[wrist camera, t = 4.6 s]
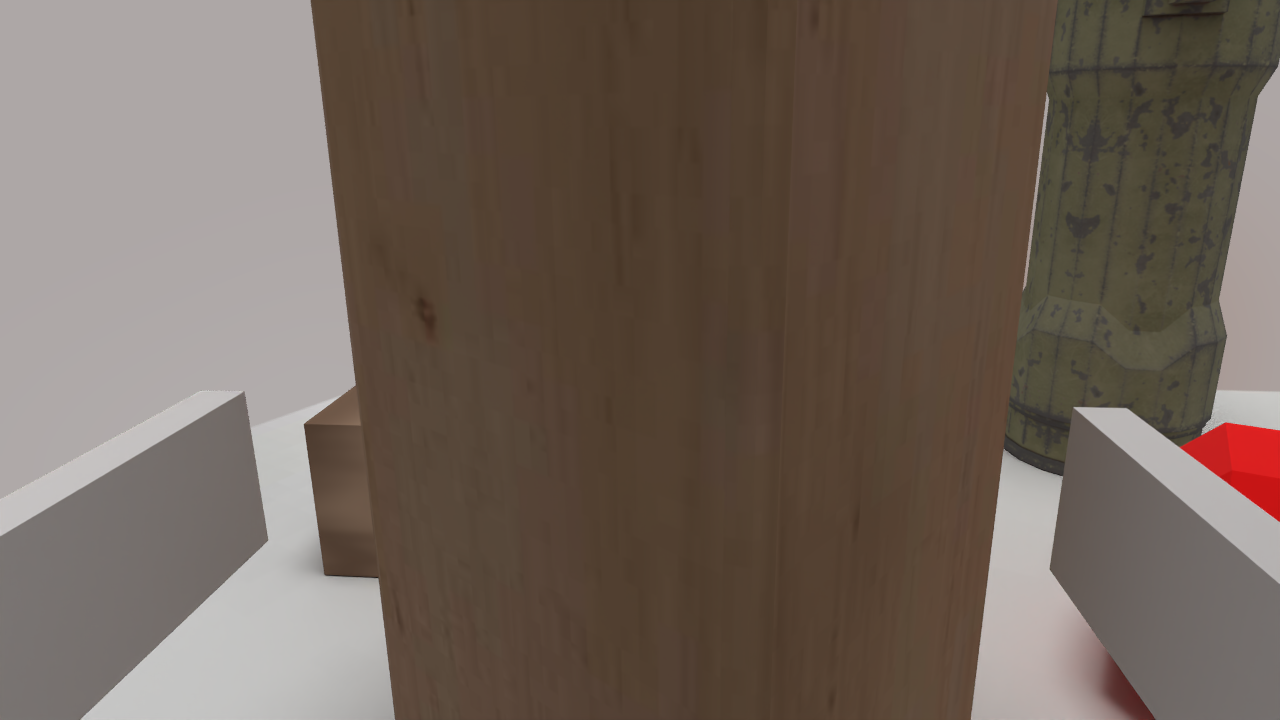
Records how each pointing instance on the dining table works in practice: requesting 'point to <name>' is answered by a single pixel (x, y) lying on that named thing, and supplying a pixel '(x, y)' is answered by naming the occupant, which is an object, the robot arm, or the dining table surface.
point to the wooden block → (683, 344)
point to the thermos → (1136, 214)
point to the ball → (1243, 461)
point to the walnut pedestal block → (341, 489)
